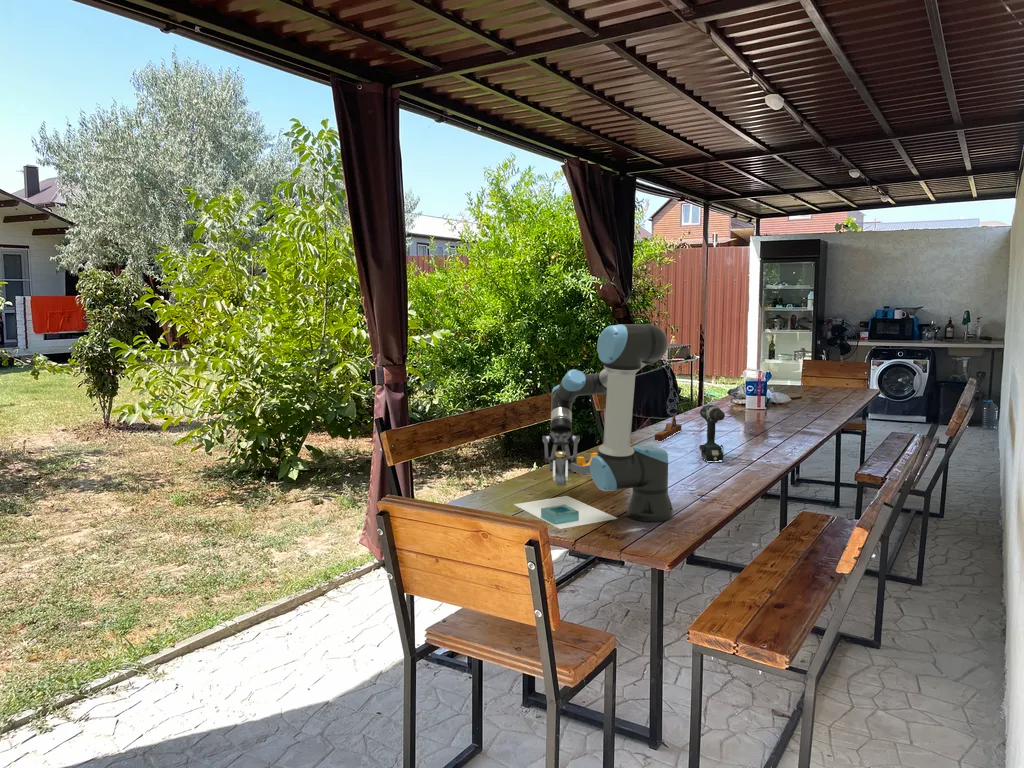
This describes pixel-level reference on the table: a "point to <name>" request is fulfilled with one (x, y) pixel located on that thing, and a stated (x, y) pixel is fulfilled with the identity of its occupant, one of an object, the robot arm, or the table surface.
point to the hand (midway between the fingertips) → (560, 478)
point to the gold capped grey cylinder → (560, 467)
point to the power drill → (711, 433)
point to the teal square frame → (559, 514)
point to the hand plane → (668, 430)
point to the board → (585, 511)
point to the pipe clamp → (582, 460)
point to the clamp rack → (580, 467)
